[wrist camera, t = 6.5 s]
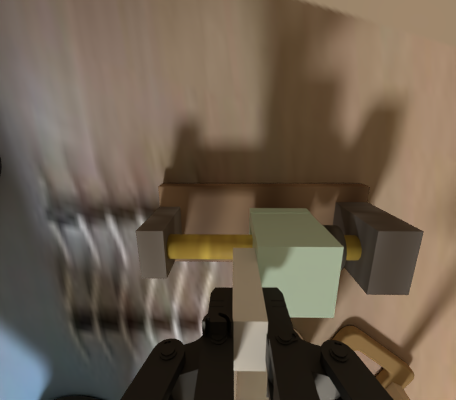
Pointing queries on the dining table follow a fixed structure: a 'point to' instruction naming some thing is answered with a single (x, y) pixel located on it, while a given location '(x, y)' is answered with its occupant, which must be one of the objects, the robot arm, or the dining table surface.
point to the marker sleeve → (297, 259)
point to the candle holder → (252, 384)
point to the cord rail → (278, 198)
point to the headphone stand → (379, 361)
